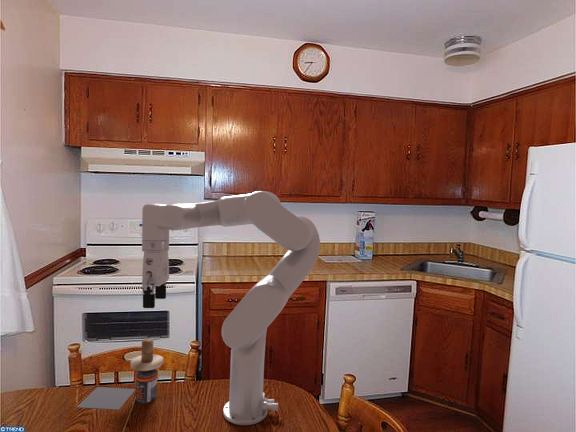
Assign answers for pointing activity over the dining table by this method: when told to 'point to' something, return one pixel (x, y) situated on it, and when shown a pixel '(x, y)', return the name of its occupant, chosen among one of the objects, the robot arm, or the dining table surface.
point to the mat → (106, 398)
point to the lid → (147, 358)
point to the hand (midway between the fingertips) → (154, 303)
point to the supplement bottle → (146, 386)
